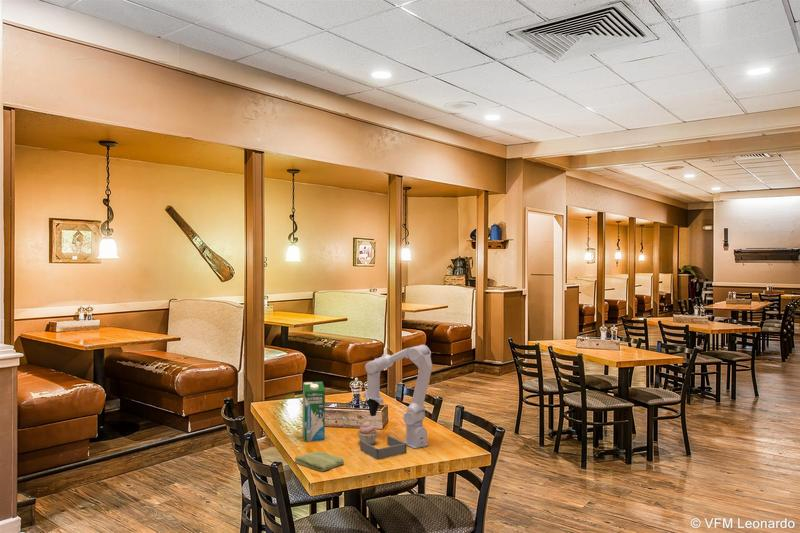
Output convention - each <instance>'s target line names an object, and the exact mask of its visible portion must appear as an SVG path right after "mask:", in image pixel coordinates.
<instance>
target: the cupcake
mask: <svg viewBox="0 0 800 533" xmlns="http://www.w3.org/2000/svg"><path fill="white" fill-rule="evenodd" d="M377 430H378V429H377V428H376V427H375V425H374V424H372V423H371V422H370V421H369V420H368V421H365V422H364V423H363V424H362V425H361V426H360V428H359V431H358V432H357V436H358V437H359V442H360V441H364V442H366V443H368V444H370V445H372V446H374V444H375V443H376V440H377V439H376V438H377V436H378V434H379V432H378V431H377Z"/></svg>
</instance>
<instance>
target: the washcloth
mask: <svg viewBox="0 0 800 533" xmlns="http://www.w3.org/2000/svg"><path fill="white" fill-rule="evenodd" d="M294 460H295V464H296V465H299V466H303V467H306V468H309V469H311V470H315V471H318V472H321V473H323V472H325V471H328V470H332V469H333V468H337V467H340V466H343V465H344V464H345V460H344V458H343V457H342V456H339V455H338V456H337V455H334V454H331V453H326V452H323V451H319V450H317V451H313V452H307V453H304V454H302V455H298V456H295V457H294Z"/></svg>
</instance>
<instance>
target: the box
mask: <svg viewBox="0 0 800 533" xmlns="http://www.w3.org/2000/svg"><path fill="white" fill-rule="evenodd" d="M386 438H387V440H386V443H387V444H386V445H387V446H384V447H381V448H377V447H375V446H374V445H370V444H368V443H366V442H364V441H360V440H359V442H360V445H359V446H360V451H362V452H363V453H365V454H366V455H368V454H369V456H370V457H371V458H374V459H376V460H380V459H381V458H382V459H386V458H390V456H391V457H394V456H400V455H403V453H404V454H407V446H408V445H407V444H406V443H404V441H402V440H400V439H398V438H396V437H394V436H391V435H389V434H388V435H387V436H386ZM399 454H400V455H399ZM385 457H386V458H385Z"/></svg>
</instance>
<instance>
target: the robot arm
mask: <svg viewBox="0 0 800 533" xmlns="http://www.w3.org/2000/svg"><path fill="white" fill-rule="evenodd" d="M431 356H432V352H431V350H430V347H428V345H426V344H419V345H415V346H411V347H407V348H404V349H402V350H399V351H398V352H396V353H393V354H391V355H390V354H387V353H384V354H381V356H380V357H375V358H374V360H370V361H368V362H366V364H365V365H364V368H365V369H364V370H365V371H366V373H367V379H366V380H367V382H366V384H367V389H366V391H367V392H363V398H365V399H367V400H366V401H365V402H366V404H367V406H368V412H369V414H370V416H371V417H376V416H377V412H378V408H379V406H380V405H381V404H384V398H383V397H381V394H380V390H381V389H380V388H381V387H380V384H381V382H380V380H381V379H380V378H381V371H384V370H386V369H388V368H390V367H392V366H393V365H394V362H397V361H400V360H402V359H409V360H410V361H411V362H412V363H413V364H414V365H416V367H417V368H418V369H419V371H418V374H417V378H416V381H415V385H414V391H413V395H412V399H411V402H410V404H409V405H408V406H407V410H406V411H405V413H404V414H403V421H404V423H405V425H406V427H405V428H406V430H405V432H406V434H405V441H404V440H403V442H404V443H406V444H407V446H408V447H410V448H412V449H419V448H424V447H428V446H429V443H428V432H427V428H425V427H424V425H423V421H424V419H425V417H426V412H425V410H426V406H425V405H424V403H425V398H426V394H427V391H428V387H429V383H430V378H431V375H432V370H433V362H432V357H431Z"/></svg>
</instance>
